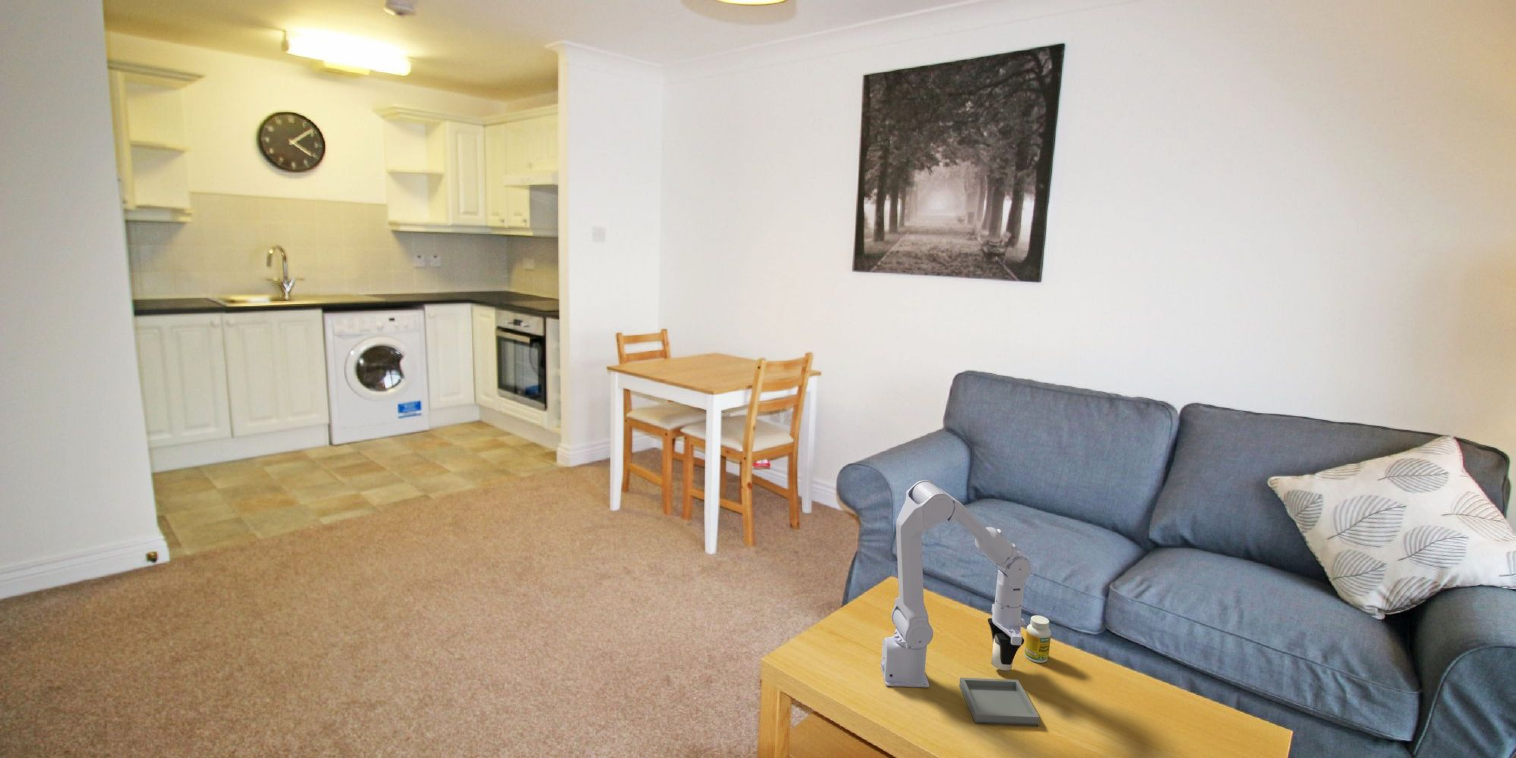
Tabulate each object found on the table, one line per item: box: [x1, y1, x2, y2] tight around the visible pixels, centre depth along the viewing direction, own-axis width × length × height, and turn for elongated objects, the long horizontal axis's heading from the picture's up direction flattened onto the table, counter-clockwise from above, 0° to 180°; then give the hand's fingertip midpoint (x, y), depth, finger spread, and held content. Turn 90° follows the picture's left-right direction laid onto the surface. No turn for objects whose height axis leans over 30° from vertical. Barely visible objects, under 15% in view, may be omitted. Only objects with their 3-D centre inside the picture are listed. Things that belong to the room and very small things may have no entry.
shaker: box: [990, 633, 1014, 671], centre depth 163 cm, size 4×4×6 cm
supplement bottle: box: [1023, 614, 1052, 664], centre depth 169 cm, size 5×5×10 cm
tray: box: [958, 677, 1040, 727], centre depth 151 cm, size 13×13×2 cm
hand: (1002, 657), depth 163 cm, fingers closed on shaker, 4 cm apart
